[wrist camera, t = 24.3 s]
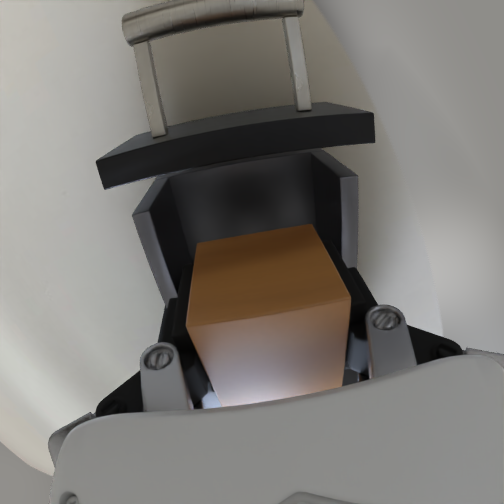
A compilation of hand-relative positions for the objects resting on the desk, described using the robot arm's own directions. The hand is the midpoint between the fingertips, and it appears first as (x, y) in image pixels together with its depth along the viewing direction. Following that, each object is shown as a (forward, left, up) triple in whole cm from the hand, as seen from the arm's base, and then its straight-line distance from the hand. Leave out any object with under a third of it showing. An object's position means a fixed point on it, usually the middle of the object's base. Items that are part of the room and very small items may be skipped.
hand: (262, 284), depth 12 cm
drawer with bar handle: (-2, -2, -6) cm, 7 cm away
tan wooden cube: (0, 0, 0) cm, 0 cm away
